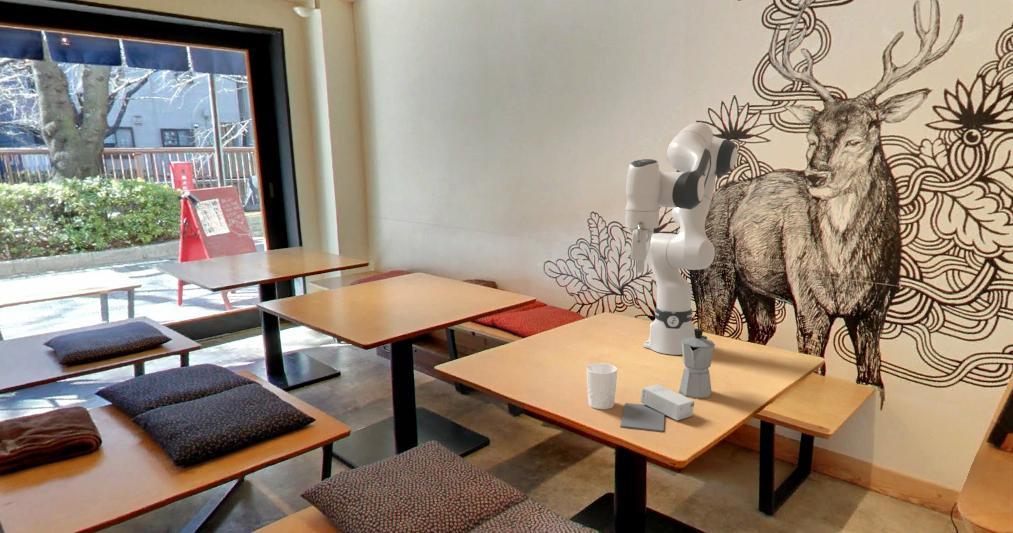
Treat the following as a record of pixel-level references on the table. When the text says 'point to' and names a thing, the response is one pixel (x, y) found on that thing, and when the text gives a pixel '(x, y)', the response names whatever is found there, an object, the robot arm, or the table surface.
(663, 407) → the skincare box
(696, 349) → the coffee maker
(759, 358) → the table surface
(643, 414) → the mat
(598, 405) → the white cup
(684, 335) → the robot arm
